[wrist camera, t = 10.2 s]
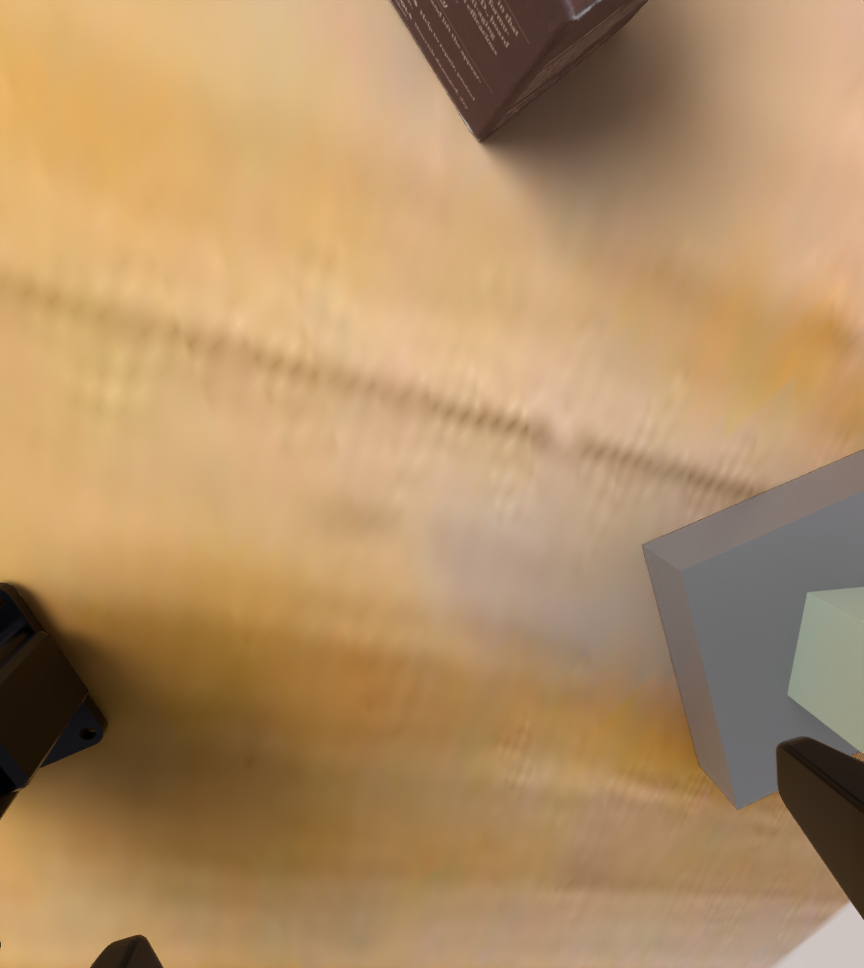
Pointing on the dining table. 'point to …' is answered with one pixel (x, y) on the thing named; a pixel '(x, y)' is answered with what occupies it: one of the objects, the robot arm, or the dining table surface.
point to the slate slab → (755, 616)
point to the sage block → (832, 662)
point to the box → (507, 48)
